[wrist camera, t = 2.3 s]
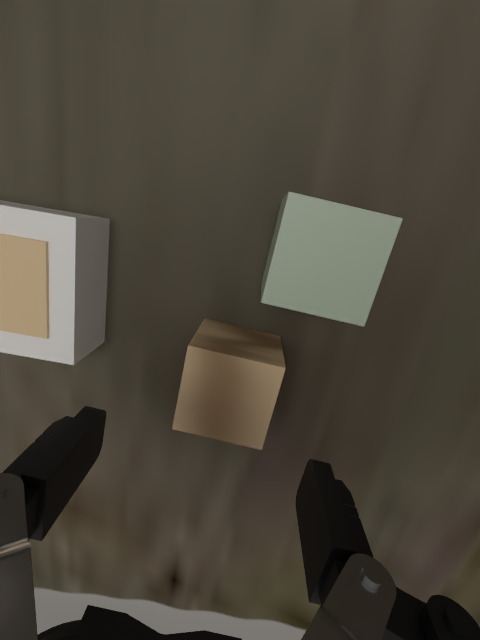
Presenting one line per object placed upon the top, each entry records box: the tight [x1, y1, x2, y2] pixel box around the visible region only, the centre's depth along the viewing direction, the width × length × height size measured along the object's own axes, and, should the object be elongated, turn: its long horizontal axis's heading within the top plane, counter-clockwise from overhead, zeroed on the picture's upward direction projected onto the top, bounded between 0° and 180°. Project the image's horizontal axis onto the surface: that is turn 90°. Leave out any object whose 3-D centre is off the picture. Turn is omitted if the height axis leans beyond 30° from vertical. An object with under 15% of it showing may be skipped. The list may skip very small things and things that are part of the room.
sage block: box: [261, 192, 403, 327], centre depth 17 cm, size 5×5×5 cm
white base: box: [0, 200, 110, 365], centre depth 19 cm, size 8×8×4 cm
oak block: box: [172, 318, 286, 450], centre depth 19 cm, size 5×5×5 cm
